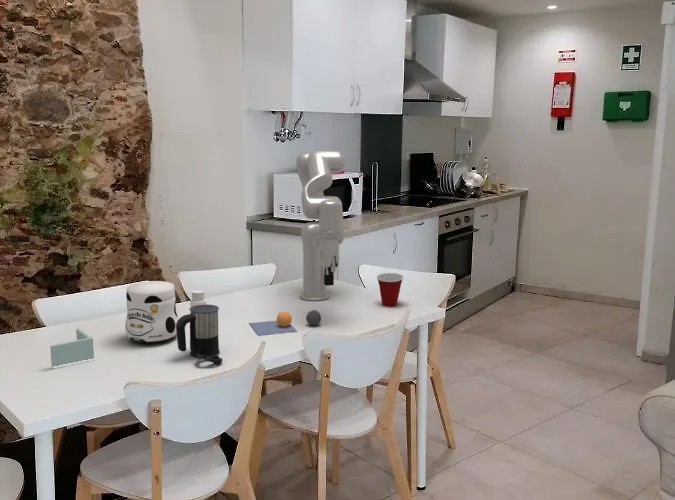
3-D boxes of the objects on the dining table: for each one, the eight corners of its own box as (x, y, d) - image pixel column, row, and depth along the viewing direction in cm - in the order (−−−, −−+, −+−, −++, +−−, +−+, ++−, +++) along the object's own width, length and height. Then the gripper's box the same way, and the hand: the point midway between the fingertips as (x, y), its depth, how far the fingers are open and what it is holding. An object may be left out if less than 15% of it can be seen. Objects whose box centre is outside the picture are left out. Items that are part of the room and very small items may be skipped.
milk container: (124, 349, 207) (121, 294, 204) (126, 332, 223) (124, 281, 220) (180, 345, 212) (178, 291, 208) (178, 328, 228) (176, 279, 224)
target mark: (248, 323, 235) (248, 323, 235) (286, 320, 240) (286, 319, 240) (258, 335, 222) (258, 335, 222) (297, 331, 227) (297, 331, 227)
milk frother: (204, 346, 211) (203, 302, 208) (242, 356, 203) (241, 310, 200) (172, 359, 199) (170, 312, 196) (210, 370, 191) (209, 321, 188)
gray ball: (317, 306, 236) (315, 319, 238) (304, 309, 233) (302, 321, 235) (324, 313, 232) (323, 326, 234) (311, 316, 229) (310, 329, 232)
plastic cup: (371, 306, 259) (372, 277, 257) (382, 299, 269) (383, 271, 266) (396, 310, 254) (397, 280, 252) (406, 303, 264) (407, 274, 261)
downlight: (205, 321, 237) (205, 294, 236) (186, 320, 237) (185, 293, 236) (210, 315, 245) (209, 289, 243) (191, 315, 245) (191, 289, 244)
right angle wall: (80, 350, 206) (78, 328, 205) (94, 361, 197) (92, 338, 196) (40, 359, 199) (38, 335, 197) (53, 371, 190) (51, 346, 188)
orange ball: (291, 318, 236) (279, 327, 235) (284, 306, 234) (272, 315, 233) (296, 322, 231) (283, 331, 230) (288, 311, 229) (276, 320, 228)
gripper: (312, 232, 237) (312, 280, 241) (326, 239, 224) (325, 290, 227) (332, 231, 240) (331, 279, 243) (346, 238, 226) (345, 289, 230)
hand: (328, 284), depth 235 cm, fingers closed
